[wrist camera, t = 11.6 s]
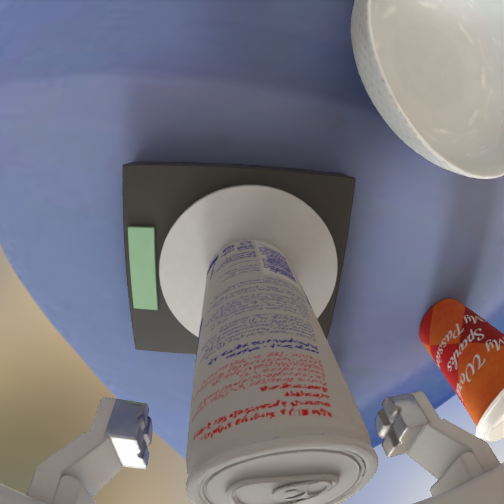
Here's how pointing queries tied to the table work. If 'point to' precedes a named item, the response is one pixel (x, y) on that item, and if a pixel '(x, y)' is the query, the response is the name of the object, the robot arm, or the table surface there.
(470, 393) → the paper cup
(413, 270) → the table surface
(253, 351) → the beverage can
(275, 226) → the scale
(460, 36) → the cereal bowl
